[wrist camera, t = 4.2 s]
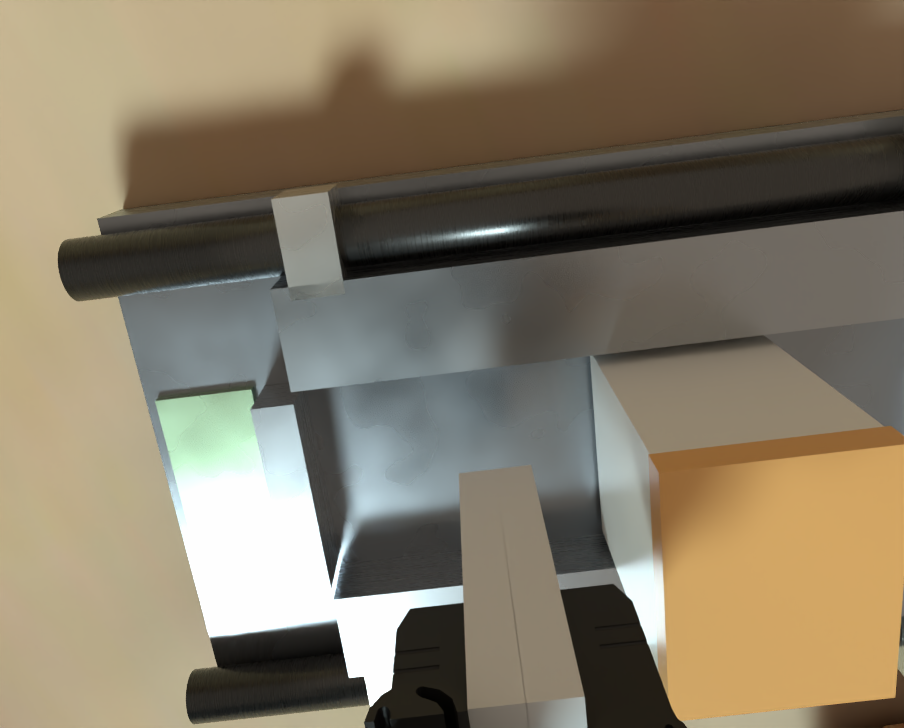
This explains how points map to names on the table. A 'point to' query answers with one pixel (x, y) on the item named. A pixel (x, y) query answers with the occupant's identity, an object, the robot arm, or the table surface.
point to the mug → (895, 726)
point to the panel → (441, 408)
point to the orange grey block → (751, 526)
